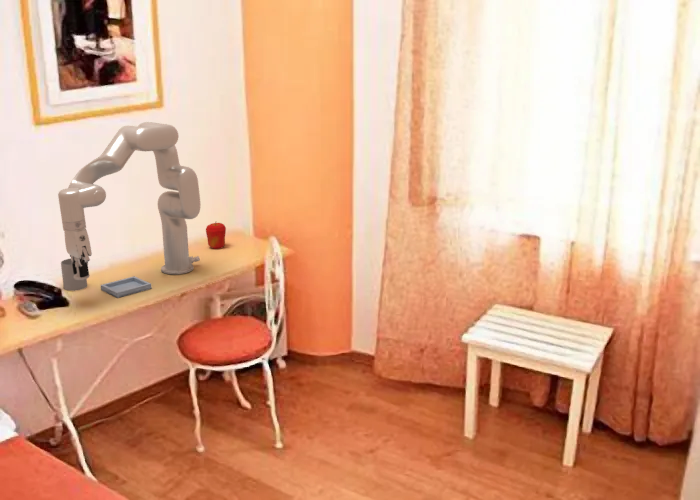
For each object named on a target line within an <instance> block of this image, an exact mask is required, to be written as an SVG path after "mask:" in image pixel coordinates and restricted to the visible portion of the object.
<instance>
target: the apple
mask: <svg viewBox="0 0 700 500" xmlns="http://www.w3.org/2000/svg"><path fill="white" fill-rule="evenodd" d="M226 231H227V227H226V226H225V223H222V222H217V221H215V222H213V223H210V224H208V225H206V228H205V234H206V238H207V245H208V246H209V247H210V248H211V249H213V250H218V249H222V248H223V247H225V245H226Z"/></svg>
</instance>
